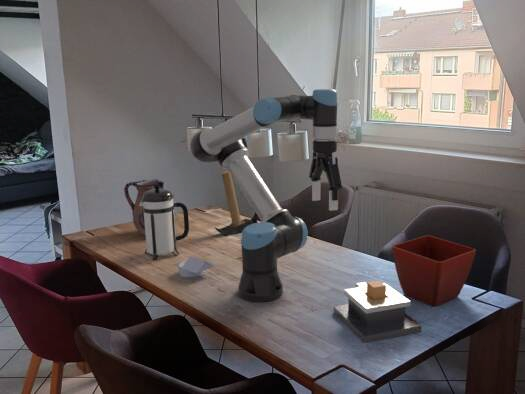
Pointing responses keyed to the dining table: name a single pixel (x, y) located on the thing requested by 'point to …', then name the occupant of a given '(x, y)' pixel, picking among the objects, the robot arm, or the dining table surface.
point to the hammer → (233, 209)
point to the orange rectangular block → (376, 290)
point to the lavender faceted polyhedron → (193, 267)
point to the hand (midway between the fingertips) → (324, 205)
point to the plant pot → (432, 268)
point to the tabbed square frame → (376, 314)
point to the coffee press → (161, 222)
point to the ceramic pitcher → (136, 209)
